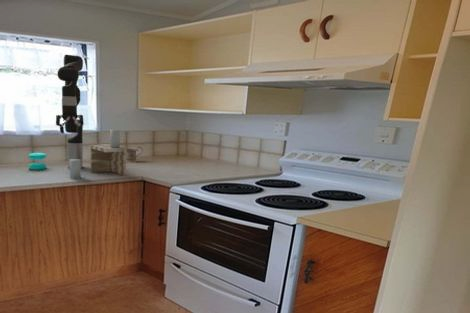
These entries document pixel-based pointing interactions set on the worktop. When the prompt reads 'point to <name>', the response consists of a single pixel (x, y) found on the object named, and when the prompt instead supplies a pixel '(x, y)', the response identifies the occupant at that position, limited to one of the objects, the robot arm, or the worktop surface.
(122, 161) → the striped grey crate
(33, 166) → the teal spool
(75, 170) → the grey-green short column
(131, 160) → the mug
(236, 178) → the worktop surface
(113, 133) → the pale grey cylinder
